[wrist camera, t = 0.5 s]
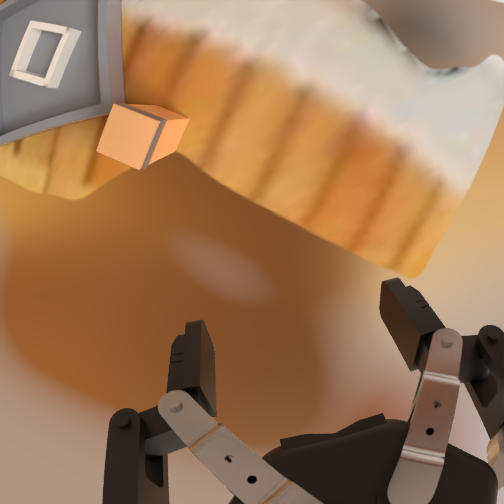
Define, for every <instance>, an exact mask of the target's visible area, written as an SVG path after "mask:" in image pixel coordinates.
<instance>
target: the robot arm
mask: <svg viewBox="0 0 504 504" xmlns="http://www.w3.org/2000/svg"><path fill="white" fill-rule="evenodd" d="M379 309H380V315H381V318H382V320H383V322H384V323H385V325H386V327H387V329H388V331H389V333H390V334H391V336H392V338H393V340H394V341H395V343H396V345H397V347H398V349H399V351H400V353H401V354H402V356H403V358H404V360H405V362H406V364H407V366H408V368H409V370H410V371H414V370H417V369H419V370H420V372H421V374H420V377H419V381H418V385H417V389H416V392H415V396H414V399H413V402H412V406H411V409H410V412H409V415H408V417H407V420H406V421H402V420H397V419H385V417H384V415H383V413H381V414H378V415H375V416H372V417H369V418H365V419H362V420H359V421H357V422H355V423H353V424H352V425H350V426H348V427H346V428H344V429H342V430H340V431H338V432H336V433H333V434H304V435H299V436H295V437H289V438H284V439H280V442H281V446H279V447H277V448H275V449H273V450H271V451H270V452H268V453H267V454H265V455H264V456H263V457H262V458H260V457H259V456H258V455H257V454H256V453H255V452H253V451H252V450H251V449H250V448H249V447H247V446H246V445H245V444H244V443H243V442H242V441H241V440H240V439H238V438H237V437H236V436H235V435H234V434H233V433H232V432H230V430H228V429H227V428H226V427H225V426H224V425H222V424H218V423H217V422H216V421H215V420H214V419H213V418H212V417H216V416H217V411H216V377H215V351H214V346H213V343H212V340H211V338H210V335H209V333H208V330H207V327H206V325H205V322H204V320H197V321H191V322H187V323H186V327H185V335H178V336H177V337H176V339H175V340H174V342H173V344H172V347H171V356H170V365H169V374H168V384H167V392H166V394H165V395H164V396H163V397H162V398H161V399H160V401H159V403H158V405H157V406H155V407H153V408H151V409H148V410H145V411H143V412H140V413H137V412H136V411H135V410H133V409H130V408H125V409H121V410H119V411H117V412H116V413H115V414H114V415H113V416H112V418H111V419H110V423H109V431H108V439H107V449H106V460H105V471H104V485H103V486H104V487H103V504H169V490H168V489H169V487H168V453H171V452H173V451H176V450H179V449H182V448H184V447H188V448H189V449H190V451H191V452H192V453H193V454H194V455H195V456H196V457H197V458H198V459H199V460H200V461H201V462H202V464H203V465H204V466H205V467H206V468H207V469H208V470H209V471H210V472H211V473H212V474H213V475H214V476H215V477H216V478H217V479H218V480H219V481H220V482H221V483H222V484H223V485H224V486H225V487H226V488H227V489H228V490H229V491H230V492H231V493H233V495H234V497H233V498H232V500H231V501H230V502H229V504H496V502H497V493H498V491H499V490H501V489H502V488H504V332H503V331H502V330H501V329H500V328H498V327H496V326H493V325H487V326H484V327H482V328H481V329H480V331H479V333H478V335H472V336H461V335H460V334H459V333H458V332H457V331H455V330H453V329H450V328H445V326H444V325H443V323H442V322H441V321H440V319H439V318H438V316H437V315H436V314H435V312H434V311H433V309H432V308H431V307H429V304H428V303H427V301H426V300H425V299H424V297H423V296H422V295H421V293H420V292H419V291H418V290H416V289H415V288H413V287H411V286H407V287H405V285H404V284H403V283H402V281H401V280H400V279H399V278H394V279H390V280H386V281H383V282H382V284H381V295H380V307H379ZM460 383H464V384H465V386H466V388H467V390H468V392H469V394H470V396H471V398H472V400H473V403H474V405H475V407H476V409H477V411H478V413H479V415H480V417H481V420H482V422H483V424H484V426H485V428H486V431H487V433H488V435H489V438H490V441H489V443H488V446H487V455H488V456H487V459H488V463H486V462H485V461H483V460H481V459H479V458H477V457H475V456H473V455H471V454H469V453H467V452H465V451H463V450H461V449H459V448H457V447H455V446H453V445H451V444H449V443H448V440H449V436H450V432H451V427H452V423H453V419H454V414H455V409H456V404H457V399H458V393H459V387H460Z"/></svg>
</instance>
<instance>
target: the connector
mask: <svg viewBox="0 0 504 504" xmlns="http://www.w3.org/2000/svg"><path fill="white" fill-rule="evenodd" d="M189 119H190V118H187V117H185V116H183V115H180V114H178V113H175V112H173V111H171V110H168V109H166V108H163V107H161V106H158V105H139V104H126V103H117V102H116V104H113V107H112V109H111V112H110V114H109V117H108V119H107V122H106V125H105V127H104V130H103V133H102V136H101V139H100V142H99V144H98V147H97V150H96V151H97V152H99V153H101V154H104V155H106V156H108V157H111V158H113V159H115V160H118V161H120V162H122V163H124V164H127V165H129V166H131V167H134V168H136V169H138V170H139V169H141V170H142V169H144V168H146V167H148V165H149V164H151V163H153V162H154V161H156V160H158V159H160V158H162V157H164V156H166V155H168V154H171V153H173V152H175V150H176V148H177V146H178V144H179V141H180V139H181V137H182V135H183V132H184V130H185V128H186V126H187V124H188V121H189Z"/></svg>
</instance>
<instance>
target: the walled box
mask: <svg viewBox="0 0 504 504" xmlns="http://www.w3.org/2000/svg"><path fill="white" fill-rule="evenodd" d="M116 102H117V103H126V102H125V90H124V75H123V57H122V21H121V0H7V1H6V2H4V3H3V4H1V5H0V146H4V145H7V144H9V143H12V142H15V141H18V140H21V139H24V138H27V137H30V136H33V135H36V134H39V133H42V132H45V131H49V130H52V129H55V128H59V127H62V126H66V125H70V124H73V123H77V122H81V121H85V120H89V119H93V118H97V117H101V116H106V115H109V114H110V112H111V109H112V107H113V104H116Z"/></svg>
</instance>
